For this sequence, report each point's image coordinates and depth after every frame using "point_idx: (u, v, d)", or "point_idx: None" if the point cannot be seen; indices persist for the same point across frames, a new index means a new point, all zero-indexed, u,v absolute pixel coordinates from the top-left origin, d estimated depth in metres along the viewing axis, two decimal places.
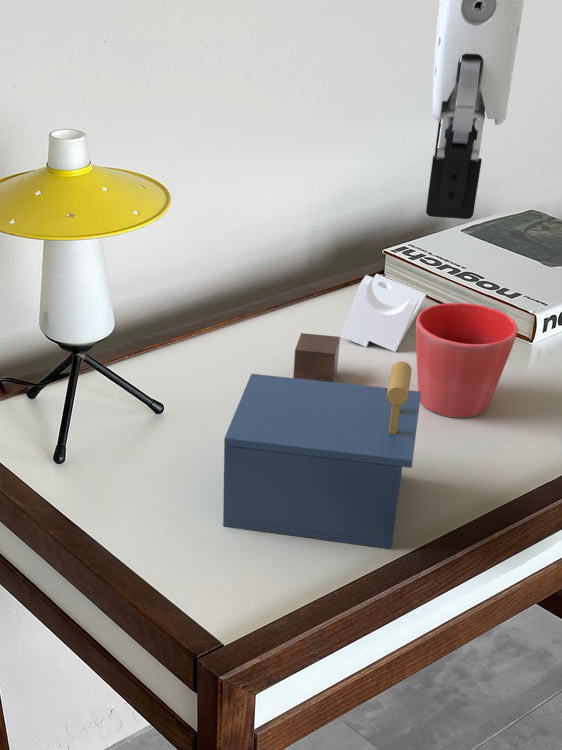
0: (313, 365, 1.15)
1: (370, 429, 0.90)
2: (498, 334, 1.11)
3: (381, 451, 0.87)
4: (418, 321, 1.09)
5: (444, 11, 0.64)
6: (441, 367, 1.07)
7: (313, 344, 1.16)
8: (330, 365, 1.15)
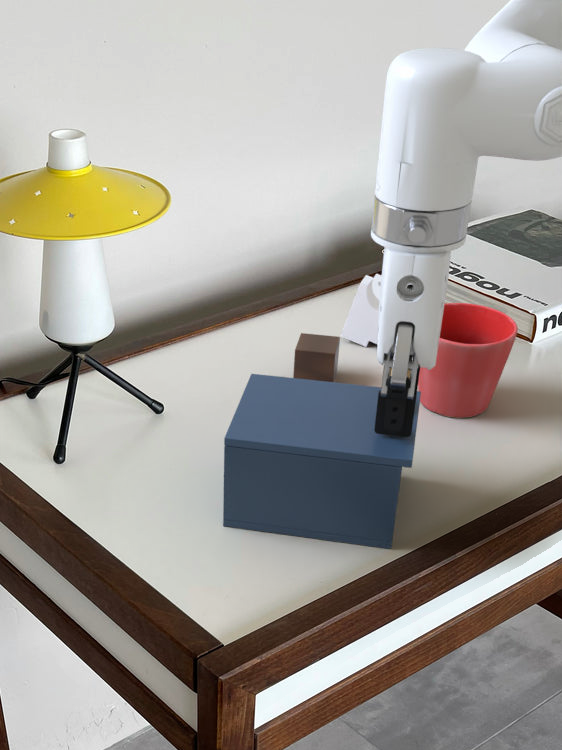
0: (313, 365, 1.15)
1: (370, 429, 0.90)
2: (498, 334, 1.11)
3: (381, 451, 0.87)
4: None
5: (383, 288, 0.80)
6: (441, 367, 1.07)
7: (313, 344, 1.16)
8: (330, 365, 1.15)
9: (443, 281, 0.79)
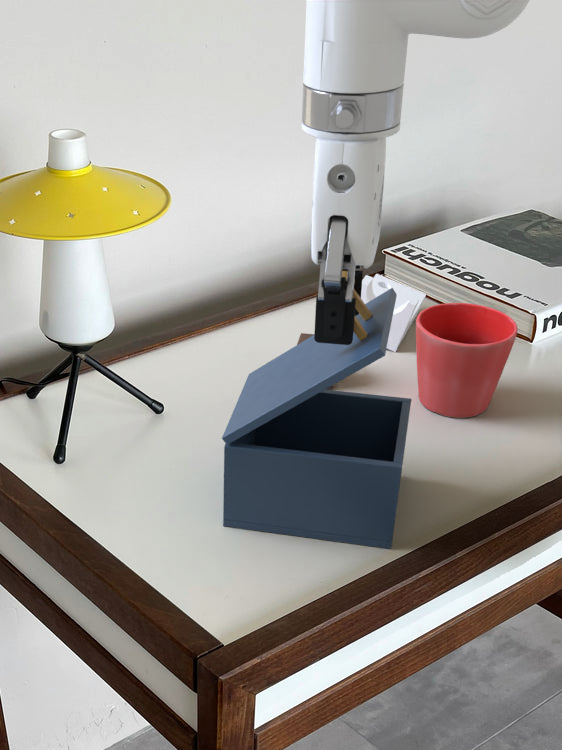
0: None
1: (344, 348, 0.87)
2: (498, 334, 1.11)
3: (352, 359, 0.83)
4: (418, 321, 1.09)
5: (314, 180, 0.77)
6: (441, 367, 1.07)
7: None
8: None
9: (375, 170, 0.76)
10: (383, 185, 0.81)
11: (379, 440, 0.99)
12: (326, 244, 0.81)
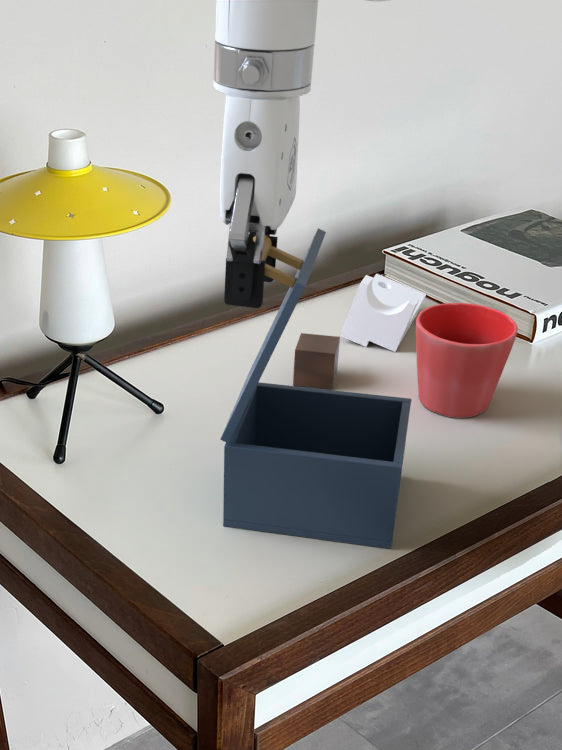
0: (313, 365, 1.15)
1: (284, 302, 0.86)
2: (498, 334, 1.11)
3: (284, 306, 0.82)
4: (418, 321, 1.09)
5: None
6: (441, 367, 1.07)
7: (313, 344, 1.16)
8: (330, 365, 1.15)
9: (282, 129, 0.76)
10: (295, 148, 0.81)
11: (379, 440, 0.99)
12: None
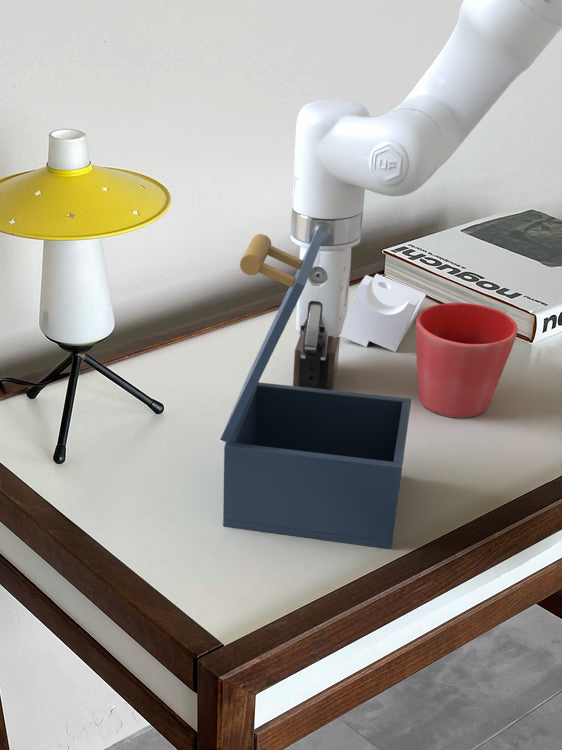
0: None
1: (284, 302, 0.86)
2: (498, 334, 1.11)
3: None
4: (418, 321, 1.09)
5: None
6: (441, 367, 1.07)
7: None
8: (330, 365, 1.15)
9: (342, 271, 1.07)
10: (349, 277, 1.12)
11: (379, 440, 0.99)
12: (307, 319, 1.12)
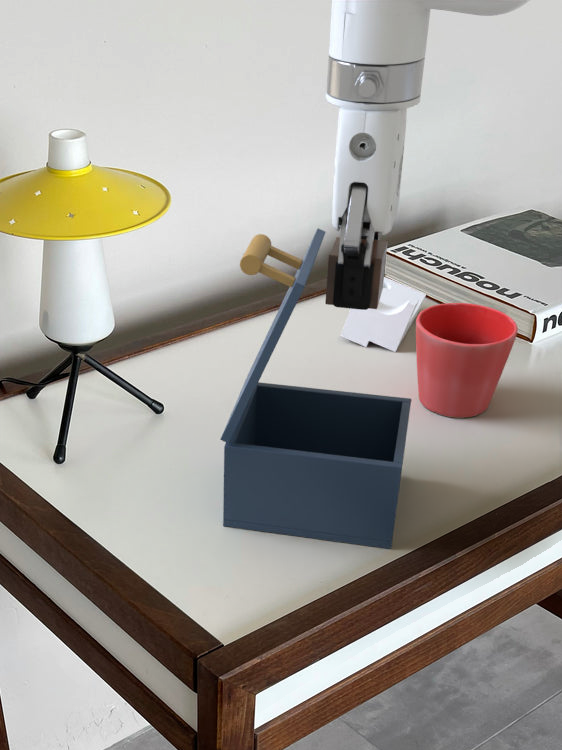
0: None
1: (284, 302, 0.86)
2: (498, 334, 1.11)
3: None
4: (418, 321, 1.09)
5: (337, 148, 0.81)
6: (441, 367, 1.07)
7: None
8: (375, 275, 0.87)
9: (395, 139, 0.79)
10: None
11: (379, 440, 0.99)
12: (346, 211, 0.84)
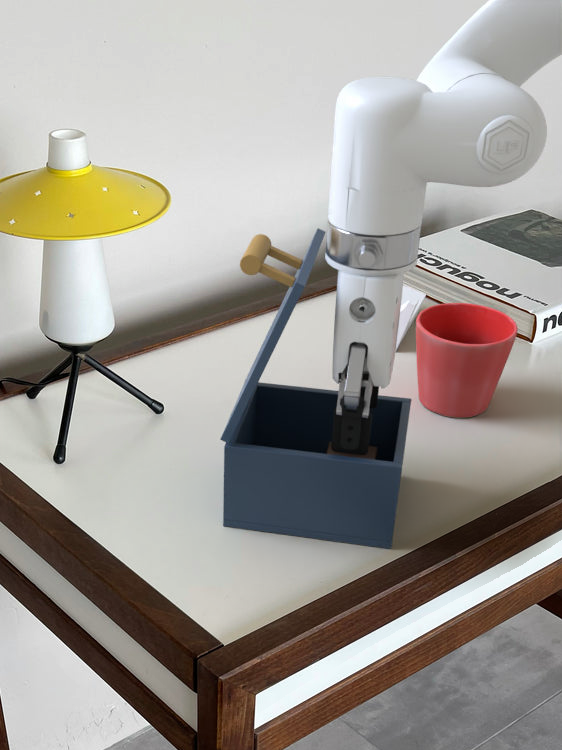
0: None
1: (284, 302, 0.86)
2: (498, 334, 1.11)
3: None
4: (418, 321, 1.09)
5: (337, 309, 0.82)
6: (441, 367, 1.07)
7: None
8: None
9: (394, 303, 0.81)
10: (400, 308, 0.87)
11: (379, 440, 0.99)
12: (346, 364, 0.86)
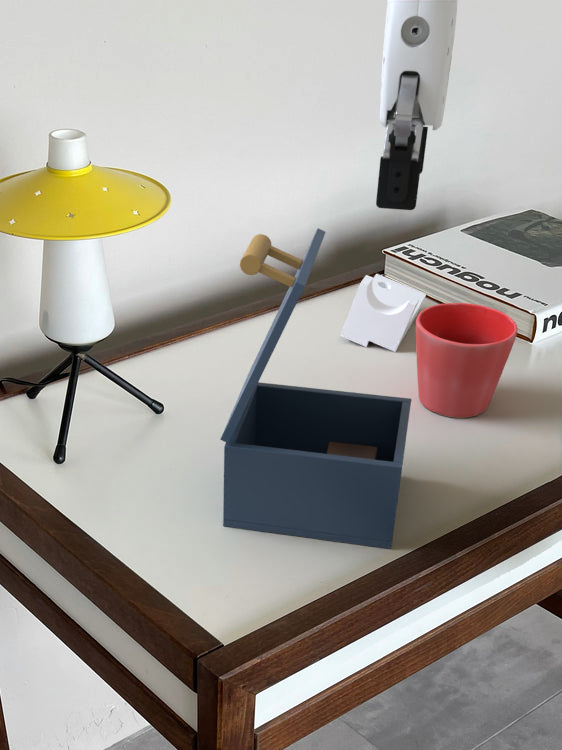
0: None
1: (284, 302, 0.86)
2: (498, 334, 1.11)
3: None
4: (418, 321, 1.09)
5: (387, 35, 0.76)
6: (441, 367, 1.07)
7: None
8: None
9: (450, 23, 0.75)
10: None
11: (379, 440, 0.99)
12: (394, 106, 0.80)
